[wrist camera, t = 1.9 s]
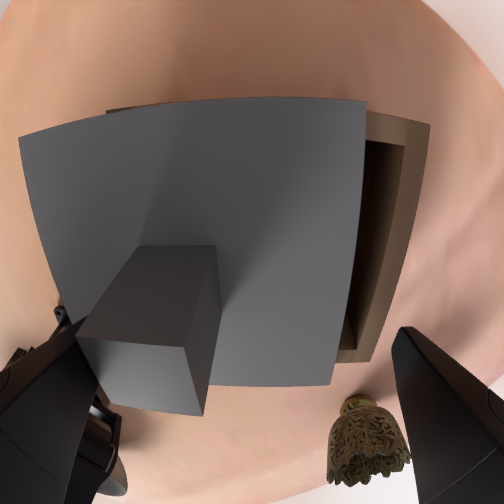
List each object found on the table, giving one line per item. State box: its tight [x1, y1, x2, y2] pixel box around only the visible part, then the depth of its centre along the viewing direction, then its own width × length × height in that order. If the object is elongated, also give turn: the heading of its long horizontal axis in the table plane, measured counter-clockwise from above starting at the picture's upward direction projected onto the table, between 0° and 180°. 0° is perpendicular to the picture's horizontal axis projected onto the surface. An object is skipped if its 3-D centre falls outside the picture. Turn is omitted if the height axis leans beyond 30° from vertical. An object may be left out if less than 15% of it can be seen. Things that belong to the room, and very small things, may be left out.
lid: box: [18, 97, 366, 417], centre depth 10 cm, size 13×13×6 cm
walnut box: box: [106, 102, 430, 363], centre depth 15 cm, size 12×12×6 cm
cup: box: [327, 395, 412, 487], centre depth 23 cm, size 8×7×8 cm
